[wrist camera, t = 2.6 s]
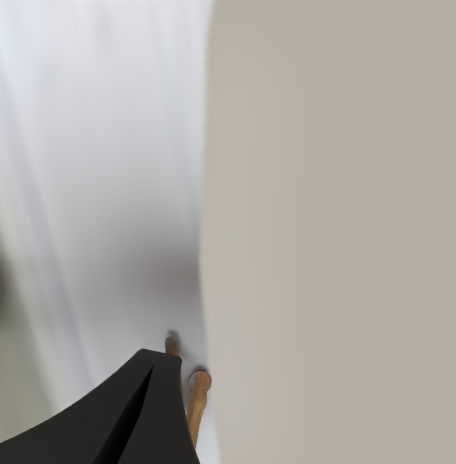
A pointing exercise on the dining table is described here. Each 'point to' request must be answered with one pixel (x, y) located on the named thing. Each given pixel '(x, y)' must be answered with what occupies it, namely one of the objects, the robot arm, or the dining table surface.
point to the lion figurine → (193, 393)
